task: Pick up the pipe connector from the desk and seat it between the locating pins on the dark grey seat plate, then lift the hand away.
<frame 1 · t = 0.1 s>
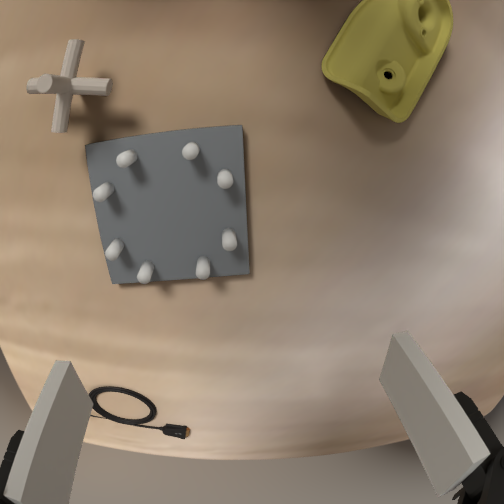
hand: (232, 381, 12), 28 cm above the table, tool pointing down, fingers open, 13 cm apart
pipe connector: (85, 87, 29), on the table
cable: (120, 404, 52), on the table
seat plate: (169, 207, 37), on the table
plastic component: (388, 46, 31), on the table
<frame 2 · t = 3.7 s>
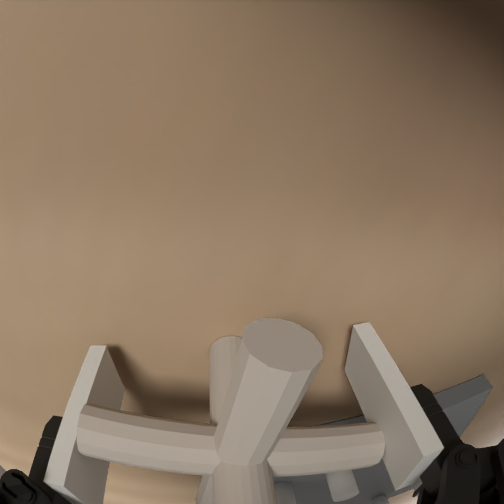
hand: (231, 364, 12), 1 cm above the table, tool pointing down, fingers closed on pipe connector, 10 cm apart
pipe connector: (230, 349, 13), on the table, touching gripper
seat plate: (356, 468, 21), on the table
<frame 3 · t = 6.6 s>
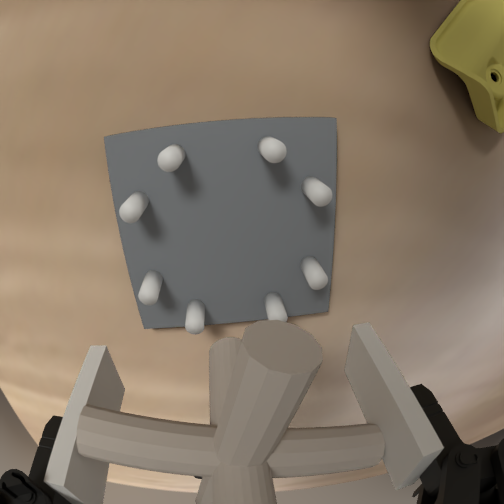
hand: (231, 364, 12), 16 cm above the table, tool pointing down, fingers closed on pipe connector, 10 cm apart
pipe connector: (230, 350, 13), point 15 cm above the table, touching gripper
seat plate: (227, 227, 27), on the table
plastic component: (488, 48, 21), on the table
when the fingers open (4 cm above the table, at t = 9.3 s): pipe connector drops 1 cm, resting on seat plate.
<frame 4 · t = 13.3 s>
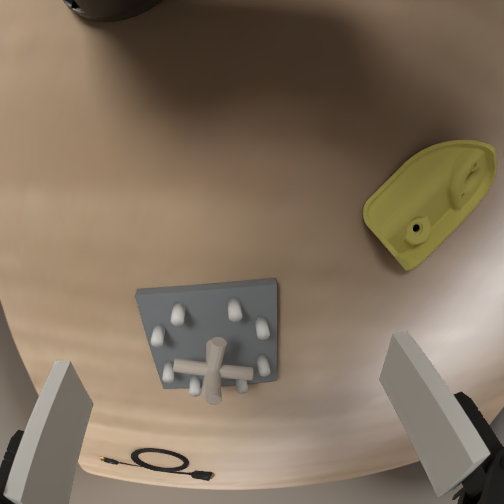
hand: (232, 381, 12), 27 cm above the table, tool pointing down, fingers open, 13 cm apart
pipe connector: (212, 343, 43), point 1 cm above the table, touching seat plate
cable: (157, 458, 59), on the table
seat plate: (212, 338, 44), on the table
plastic component: (425, 194, 38), on the table
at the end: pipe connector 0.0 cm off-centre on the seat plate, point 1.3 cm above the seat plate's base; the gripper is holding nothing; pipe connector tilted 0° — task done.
